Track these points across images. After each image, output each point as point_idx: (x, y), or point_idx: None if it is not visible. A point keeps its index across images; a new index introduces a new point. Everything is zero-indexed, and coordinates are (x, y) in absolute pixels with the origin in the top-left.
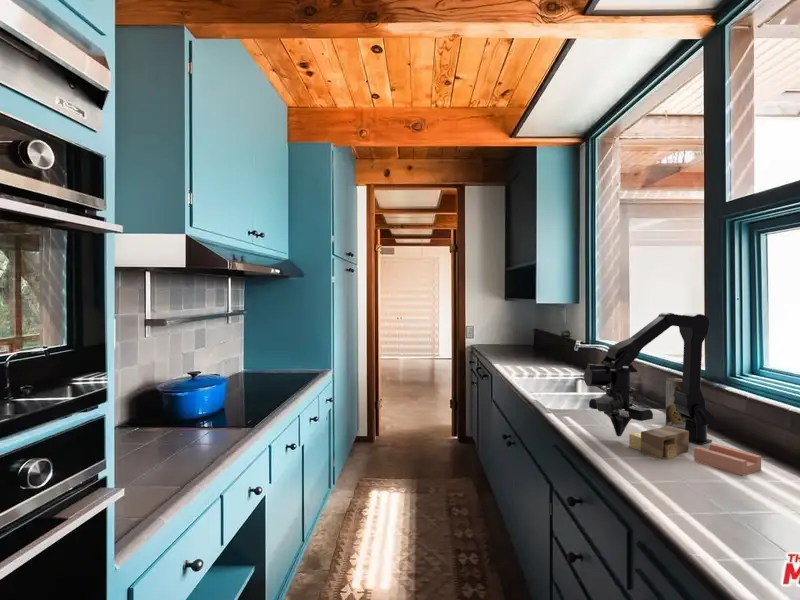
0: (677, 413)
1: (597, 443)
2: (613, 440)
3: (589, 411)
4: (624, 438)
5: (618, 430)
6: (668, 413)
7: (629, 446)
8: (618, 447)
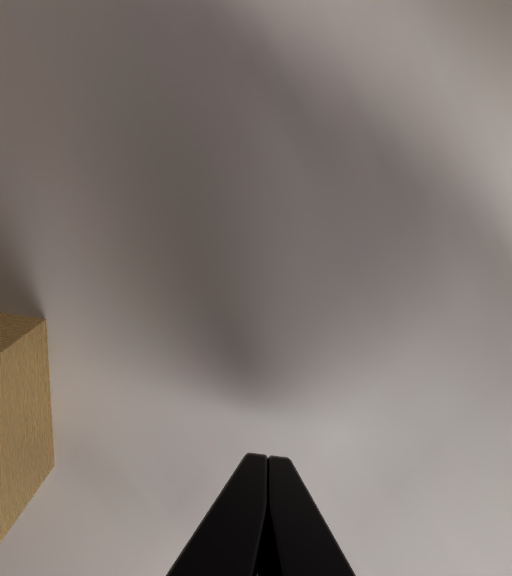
0: None
1: (403, 2)
2: (317, 379)
3: None
4: None
5: (233, 524)
6: None
7: (43, 320)
8: (75, 134)
